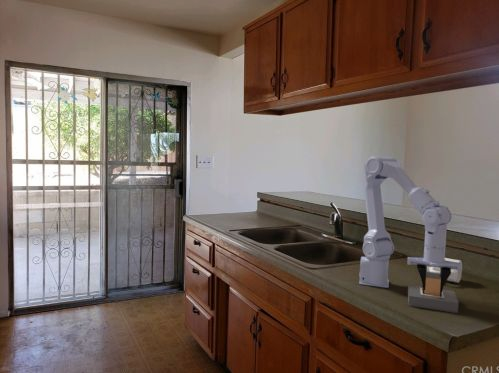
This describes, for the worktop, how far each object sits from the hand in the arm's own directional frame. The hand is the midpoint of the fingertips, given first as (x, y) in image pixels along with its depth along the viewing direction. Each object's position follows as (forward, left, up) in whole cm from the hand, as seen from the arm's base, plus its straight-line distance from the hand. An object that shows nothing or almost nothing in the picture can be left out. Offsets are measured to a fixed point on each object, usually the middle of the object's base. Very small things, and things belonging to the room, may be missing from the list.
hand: (432, 290), depth 116 cm
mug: (+6, +26, -4) cm, 27 cm away
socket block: (0, 0, -4) cm, 4 cm away
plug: (0, 0, -2) cm, 2 cm away
